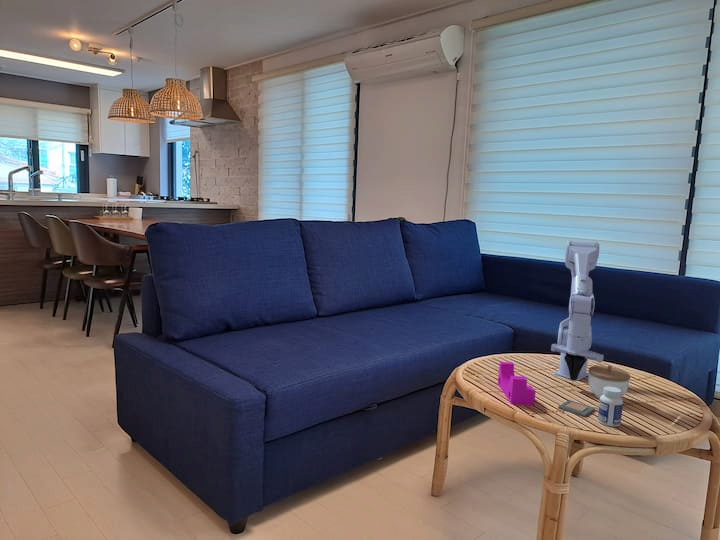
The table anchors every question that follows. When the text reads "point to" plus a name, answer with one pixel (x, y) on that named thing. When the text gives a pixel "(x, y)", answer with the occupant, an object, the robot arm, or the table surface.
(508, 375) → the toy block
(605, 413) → the pill bottle
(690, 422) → the table surface
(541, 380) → the table surface
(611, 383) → the lidded jar
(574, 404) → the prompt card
